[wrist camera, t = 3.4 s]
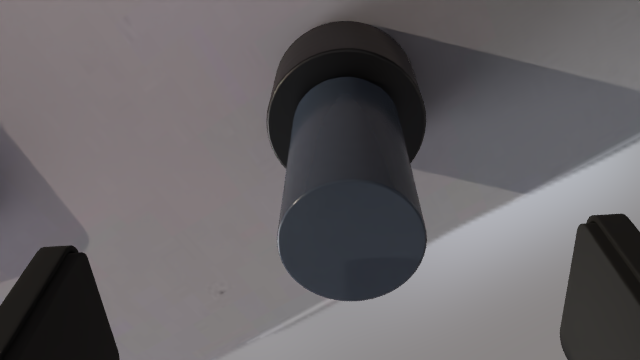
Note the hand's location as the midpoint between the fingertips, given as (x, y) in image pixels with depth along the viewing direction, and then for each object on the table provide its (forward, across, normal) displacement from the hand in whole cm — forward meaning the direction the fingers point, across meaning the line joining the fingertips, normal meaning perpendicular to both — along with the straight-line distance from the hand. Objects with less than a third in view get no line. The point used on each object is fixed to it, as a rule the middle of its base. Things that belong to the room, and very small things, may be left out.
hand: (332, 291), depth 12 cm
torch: (+10, -1, 0) cm, 10 cm away
